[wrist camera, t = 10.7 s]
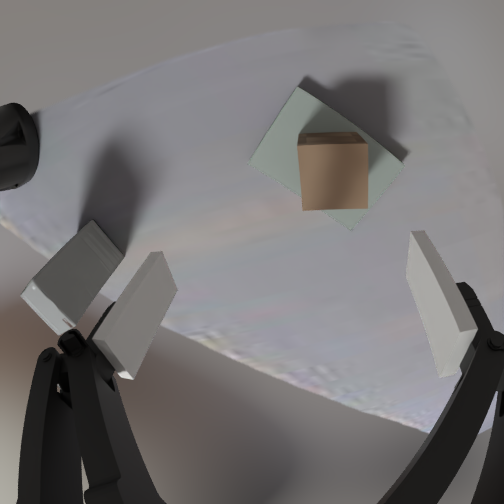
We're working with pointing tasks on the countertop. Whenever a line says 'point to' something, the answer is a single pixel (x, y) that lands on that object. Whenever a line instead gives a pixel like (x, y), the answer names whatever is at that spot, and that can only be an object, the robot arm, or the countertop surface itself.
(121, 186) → the countertop surface
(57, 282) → the skincare box
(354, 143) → the cardboard shipping box
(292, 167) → the pale green flat panel
